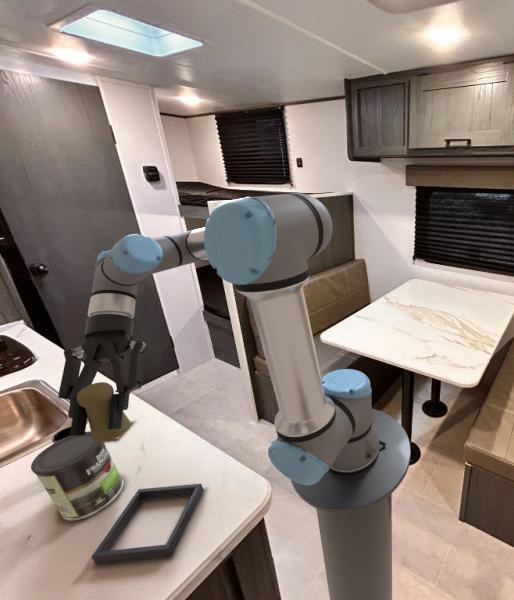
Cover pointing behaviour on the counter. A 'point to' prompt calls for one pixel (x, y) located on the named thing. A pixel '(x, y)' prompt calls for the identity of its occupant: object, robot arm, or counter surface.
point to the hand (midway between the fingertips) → (96, 431)
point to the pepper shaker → (100, 411)
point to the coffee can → (78, 476)
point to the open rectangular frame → (141, 553)
